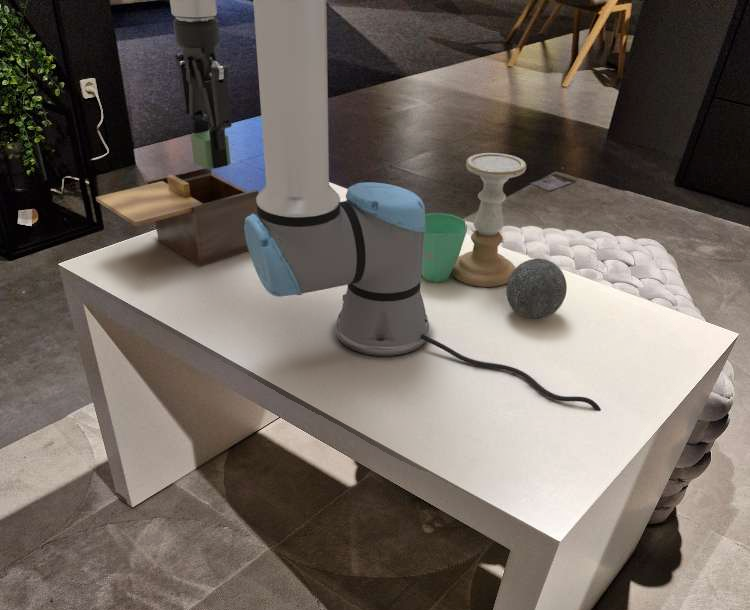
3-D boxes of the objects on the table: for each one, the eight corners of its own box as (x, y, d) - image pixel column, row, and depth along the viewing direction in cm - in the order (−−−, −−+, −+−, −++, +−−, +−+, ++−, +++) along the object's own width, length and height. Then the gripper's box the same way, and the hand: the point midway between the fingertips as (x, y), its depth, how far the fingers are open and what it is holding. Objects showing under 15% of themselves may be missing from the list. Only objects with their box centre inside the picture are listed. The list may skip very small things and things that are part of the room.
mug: (472, 278, 139) (478, 225, 132) (435, 293, 134) (440, 239, 127) (418, 252, 147) (421, 201, 140) (381, 266, 142) (383, 214, 135)
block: (230, 164, 140) (228, 136, 136) (208, 169, 137) (204, 141, 134) (216, 157, 142) (213, 129, 139) (193, 162, 140) (190, 134, 136)
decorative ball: (561, 333, 124) (572, 277, 117) (501, 327, 125) (509, 271, 118) (559, 305, 131) (571, 251, 125) (503, 300, 132) (511, 246, 126)
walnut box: (263, 248, 147) (258, 190, 139) (202, 267, 140) (193, 207, 132) (215, 221, 156) (208, 165, 149) (156, 237, 149) (145, 180, 142)
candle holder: (527, 281, 138) (545, 169, 125) (468, 291, 135) (481, 177, 121) (495, 255, 146) (509, 147, 133) (439, 264, 143) (448, 154, 129)
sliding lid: (204, 208, 135) (202, 190, 133) (135, 226, 128) (132, 208, 126) (163, 185, 143) (160, 168, 141) (96, 201, 137) (92, 183, 134)
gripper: (244, 23, 121) (256, 171, 137) (186, 6, 131) (204, 146, 146) (204, 28, 117) (221, 179, 133) (148, 11, 127) (170, 153, 143)
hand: (212, 162), depth 140 cm, fingers closed on block, 5 cm apart
